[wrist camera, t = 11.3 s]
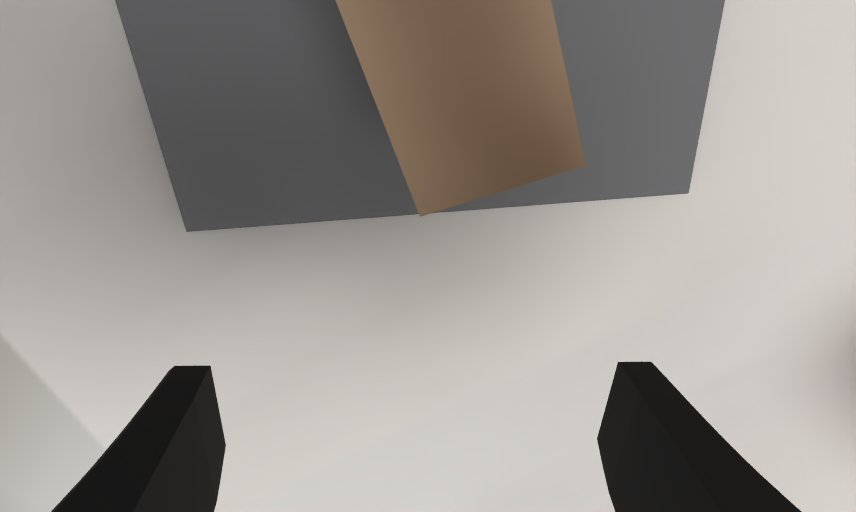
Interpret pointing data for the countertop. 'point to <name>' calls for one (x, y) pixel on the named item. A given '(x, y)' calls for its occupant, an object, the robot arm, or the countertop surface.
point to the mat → (361, 121)
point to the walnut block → (467, 93)
